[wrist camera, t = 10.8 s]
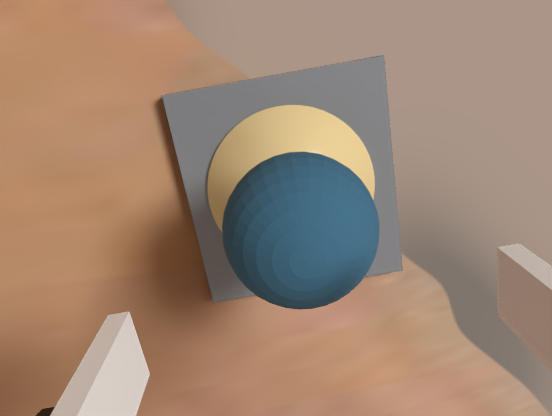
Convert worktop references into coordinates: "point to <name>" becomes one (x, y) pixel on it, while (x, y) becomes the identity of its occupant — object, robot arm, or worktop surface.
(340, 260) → the light bulb
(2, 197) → the worktop surface
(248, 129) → the socket board
